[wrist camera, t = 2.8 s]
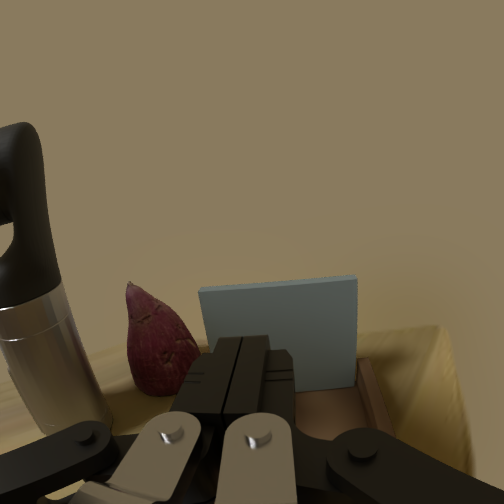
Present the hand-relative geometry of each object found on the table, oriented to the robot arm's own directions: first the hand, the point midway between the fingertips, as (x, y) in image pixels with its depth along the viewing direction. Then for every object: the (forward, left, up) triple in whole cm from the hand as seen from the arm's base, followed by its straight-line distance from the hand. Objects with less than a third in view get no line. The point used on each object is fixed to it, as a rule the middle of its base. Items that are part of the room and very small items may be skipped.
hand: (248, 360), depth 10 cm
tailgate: (0, +19, -17) cm, 26 cm away
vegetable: (-16, +25, -19) cm, 35 cm away
